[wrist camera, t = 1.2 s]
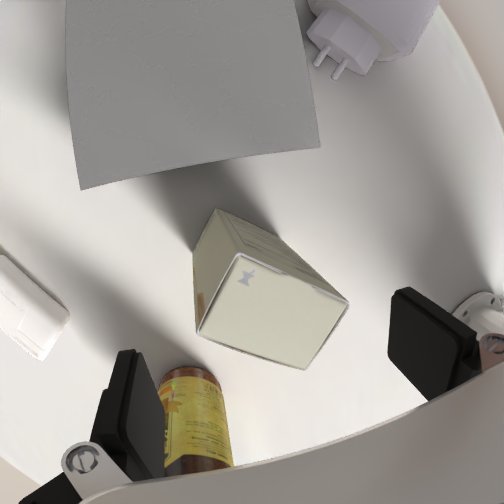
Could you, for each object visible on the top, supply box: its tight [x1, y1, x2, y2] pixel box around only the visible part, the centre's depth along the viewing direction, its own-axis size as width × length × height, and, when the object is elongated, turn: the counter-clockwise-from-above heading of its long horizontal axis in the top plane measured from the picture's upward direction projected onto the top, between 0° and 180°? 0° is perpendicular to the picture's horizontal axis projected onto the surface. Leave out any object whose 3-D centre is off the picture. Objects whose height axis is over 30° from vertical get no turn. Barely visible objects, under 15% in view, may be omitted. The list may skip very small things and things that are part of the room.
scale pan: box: [65, 0, 320, 190], centre depth 16 cm, size 14×16×4 cm
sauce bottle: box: [157, 367, 234, 477], centre depth 19 cm, size 6×6×20 cm
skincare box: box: [193, 208, 349, 371], centre depth 20 cm, size 6×4×12 cm
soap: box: [0, 255, 70, 361], centre depth 23 cm, size 9×6×3 cm, turn 48°
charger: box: [306, 0, 440, 80], centre depth 19 cm, size 5×9×15 cm
